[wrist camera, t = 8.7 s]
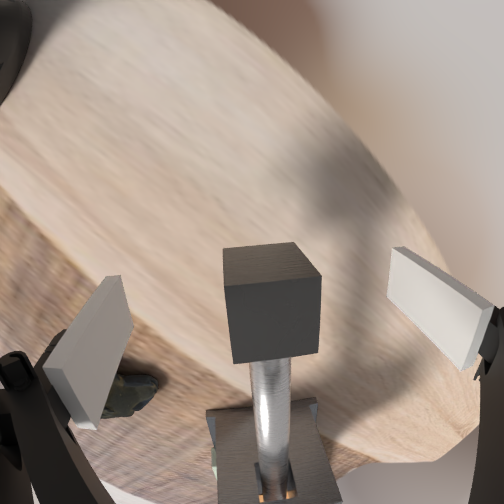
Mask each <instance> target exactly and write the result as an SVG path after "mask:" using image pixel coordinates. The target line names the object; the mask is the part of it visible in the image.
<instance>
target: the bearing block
mask: <svg viewBox="0 0 504 504" xmlns="http://www.w3.org/2000/svg"><path fill="white" fill-rule="evenodd" d="M317 408H318V402H317V399H316V397H314V398H309V399H303V400H297V401H291V402H290V435H289V460H288V480H287V491H288V496H289V499H283V500H276V501H269V502H260V500H259V494H262V485H261V476H260V467H259V457H258V448H257V438H256V429H255V419H254V409H253V407H246V408H235V409H223V410H209V411H206V420H207V423H208V427H209V431H210V434H211V438H212V441H213V444H214V448H215V451H216V466H217V490H218V504H341V503H342V502H343V501H342V498H341V495H340V492H339V489H338V486H337V483H336V480H335V478H334V475H333V472H332V469H331V466H330V463H329V460H328V458H327V455H326V452H325V449H324V446H323V443H322V440H321V438H320V435H319V432H318V429H317V426H316V416H317Z"/></svg>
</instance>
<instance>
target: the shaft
mask: <svg viewBox="0 0 504 504" xmlns="http://www.w3.org/2000/svg"><path fill="white" fill-rule="evenodd" d="M223 274H224V291H225V300H226V308H227V317H228V325H229V333H230V341H231V349H232V357H233V364H240V363H249V368H250V379H251V389H252V399H253V409H254V419H255V429H256V438H257V448H258V457H259V467H260V476H261V485H262V494H263V502H269V501H276V500H283V499H286V497H287V480H288V460H289V435H290V401H291V357H296V356H302V355H308V354H314V353H318V347H319V331H320V310H321V281H322V276H321V274H320V273H319V272H318V271H317V269H316V268H315V267H314V266H313V265H312V263H311V262H310V261H309V260H308V258H307V257H306V256H305V255H304V254H303V252H302V251H301V250H300V249H299V248H298V246H297V245H296V244H295V243H294V242H289V243H278V244H267V245H256V246H245V247H234V248H224V249H223Z"/></svg>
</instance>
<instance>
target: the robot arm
mask: <svg viewBox="0 0 504 504" xmlns="http://www.w3.org/2000/svg"><path fill="white" fill-rule="evenodd" d="M31 27H32V19H31V13H30V10H29V8H28V6H27V5H26V4H25V3H24V2H23V1H21V0H0V104H1V102H2V101H3V99H4V98H5V96H6V94H7V93H8V91H9V89H10V88H11V86H12V84H13V82H14V80H15V78H16V76H17V74H18V72H19V70H20V67H21V65H22V62H23V60H24V57H25V54H26V51H27V48H28V44H29V40H30V35H31ZM386 297H387V298H388V299H389V300H390V301H392V302H393V303H394V304H395V305H396V306H397V307H398V308H399V309H400V310H401V311H402V312H403V313H404V314H405V315H406V316H407V317H408V318H409V319H410V320H411V321H412V322H413V323H414V324H415V325H416V326H417V327H418V328H419V329H420V330H421V331H422V332H423V333H424V334H425V335H426V336H427V337H428V338H429V339H430V340H431V341H432V342H433V343H434V344H435V345H436V346H437V347H438V348H439V349H440V350H441V351H442V352H443V353H444V355H445V356H446V357H447V358H448V359H449V360H450V361H451V362H452V363H453V364H454V365H455V366H456V367H457V368H458V369H459V370H460V372H461V371H463V370H465V369H467V368H469V367H471V366H473V364H474V362H475V360H476V357H477V355H478V353H479V354H480V355H481V356H482V357H483V358H482V360H481V363H480V365H479V367H478V370H477V372H476V374H475V376H474V380H476V379H477V376H479V375H480V379H479V381H480V424H479V438H478V448H477V457H476V464H475V471H474V477H473V483H472V488H471V493H470V498H469V502H468V504H504V307H502V308H501V309H499V308H497V307H496V306H494V305H493V304H492V303H490V302H489V301H487V300H486V299H485V298H483V297H482V296H480V295H479V294H477V293H476V292H474V291H473V290H472V289H470V288H469V287H467V286H465V285H464V284H463V283H461V282H460V281H458V280H457V279H455V278H454V277H452V276H451V275H449V274H447V273H446V272H444V271H443V270H441V269H440V268H438V267H437V266H435V265H433V264H432V263H430V262H429V261H427V260H425V259H424V258H422V257H421V256H419V255H417V254H416V253H414V252H412V251H411V250H409V249H407V248H406V247H395V248H392V255H391V264H390V273H389V281H388V289H387V296H386ZM133 327H134V325H133V321H132V318H131V314H130V311H129V307H128V303H127V299H126V295H125V292H124V287H123V283H122V279H121V275H118V276H107V277H105V279H104V280H103V281H102V282H101V284H100V285H99V286H98V288H97V289H96V290H95V292H94V293H93V294H92V296H91V297H90V298H89V300H88V301H87V302H86V304H85V305H84V306H83V308H82V309H81V311H80V312H79V313H78V315H77V316H76V317H75V319H74V320H73V322H72V323H71V325H70V326H69V327H68V329H64V330H62V331H61V332H60V333H58V334H57V335H56V336H55V337H54V338H53V340H52V341H51V342H50V344H49V346H48V347H47V348H46V350H45V353H43V354H42V356H41V357H40V359H39V360H38V362H37V363H36V365H35V366H34V368H33V367H32V365H31V363H30V361H29V359H28V357H27V355H26V354H25V353H24V352H22V351H14V352H10V353H8V354H6V355H4V356H2V357H1V358H0V381H1V383H2V385H3V386H4V388H5V389H0V504H34V501H33V494H32V488H31V483H32V486H33V488H34V491H35V494H36V496H37V498H38V501H39V503H40V504H116V503H115V502H114V501H113V499H112V498H111V496H110V495H109V493H108V492H107V490H106V489H105V487H104V486H103V484H102V483H101V481H100V480H99V478H98V477H97V475H96V473H95V472H94V470H93V469H92V467H91V465H90V464H89V462H88V460H87V458H86V457H85V455H84V453H83V451H82V450H81V448H80V446H79V444H78V442H77V440H76V438H75V437H74V435H73V433H72V431H71V429H70V428H69V426H68V422H69V420H70V417H71V418H72V419H73V421H74V422H75V424H76V425H77V427H78V428H84V429H92V430H97V428H98V424H99V421H100V418H101V415H102V412H103V409H104V406H105V403H106V400H107V397H108V394H109V391H110V388H111V385H112V382H113V380H114V377H115V374H116V371H117V369H118V366H119V363H120V361H121V358H122V355H123V353H124V350H125V347H126V345H127V342H128V340H129V337H130V335H131V332H132V330H133Z"/></svg>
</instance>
